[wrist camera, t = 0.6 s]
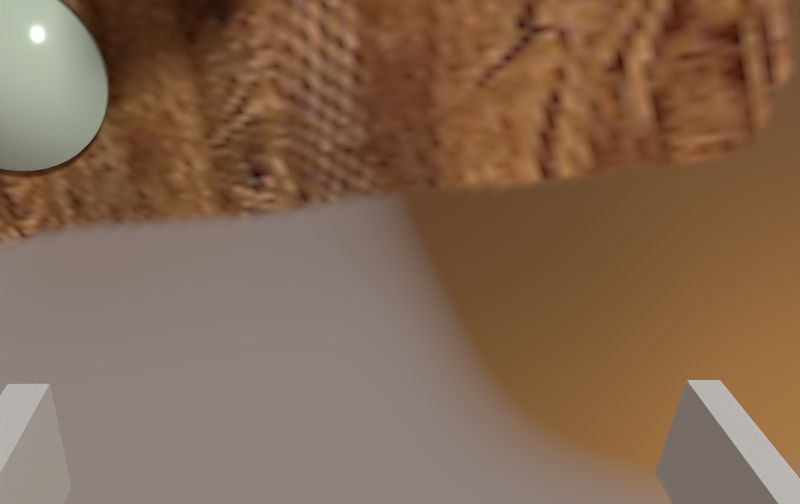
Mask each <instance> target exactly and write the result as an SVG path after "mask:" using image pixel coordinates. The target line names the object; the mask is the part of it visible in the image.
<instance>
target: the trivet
mask: <svg viewBox="0 0 800 504" xmlns="http://www.w3.org/2000/svg"><path fill="white" fill-rule="evenodd" d="M109 99H110V83H109V74H108V70H107V65H106V62H105V59H104V56H103V54H102V51H101V49H100V47H99V45H98V43H97V41H96V39H95V37H94V36H93V34H92V33H91V31H90V30H89V28H88V27H87V25H86V24H85V23H84V22H83V21H82V19H81V18H80V17H79V16H78V15H77V14H76V13H75V12H74V11H73V10H72V9H71V8H70V7H69V6H68V5H67V4H66V3H64V2H63V1H62V0H0V169H6V170H15V171H33V170H40V169H46V168H50V167H53V166H56V165H59V164H61V163H63V162H65V161H67V160H69V159H71V158H72V157H74V156H75V155H77V154H78V153H79V152H80V151H81V150H83V149H84V148H85V147H86V146H87V145H88V144H89V143H90V142H91V141H92V139H93V138H94V137H95V136H96V134H97V133H98V131H99V130H100V128H101V126H102V124H103V122H104V119H105V117H106V114H107V110H108V105H109Z"/></svg>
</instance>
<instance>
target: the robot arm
mask: <svg viewBox="0 0 800 504" xmlns="http://www.w3.org/2000/svg"><path fill="white" fill-rule="evenodd" d="M656 475H657V477H658V478H659V480H660V482H661V484H662V485H663V487H664V489H665V491H666V493H667V494H668V496H669V498H670V500H671V501H672V503H673V504H800V479H799V477H798V476H797V475H796V474H795V473H794V471H793V470H792V469H791V467H790V466H789V465H788V464H787V463H786V461H785V460H784V459H783V458H782V456H781V455H780V454H779V453H778V452H777V450H776V449H775V448H774V447H773V445H772V444H771V443H770V442H769V440H768V439H767V438H766V437H765V436H764V434H763V433H762V432H761V431H760V429H759V428H758V427H757V425H756V424H755V423H754V422H753V421H752V419H751V418H750V417H749V416H748V414H747V413H746V412H745V411H744V409H743V408H742V407H741V406H740V404H739V403H738V402H737V401H736V400H735V398H734V397H733V396H732V395H731V393H729V391H728V390H727V388H726V387H725V386H724V385H723V383H722V382H721V381H720V380H687V382H686V385H685V387H684V390H683V393H682V397H681V399H680V402H679V405H678V408H677V411H676V414H675V417H674V420H673V423H672V426H671V429H670V432H669V434H668V437H667V440H666V444H665V446H664V449H663V452H662V455H661V458H660V461H659V464H658V467H657V470H656ZM70 488H71V483H70V478H69V473H68V469H67V465H66V459H65V455H64V450H63V445H62V440H61V436H60V431H59V426H58V421H57V417H56V412H55V408H54V403H53V398H52V393H51V389H50V384H7V386H6V388H5V389H4V391H3V392H2V394H1V395H0V504H64V503H65V500H66V498H67V496H68V493H69V491H70Z"/></svg>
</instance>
